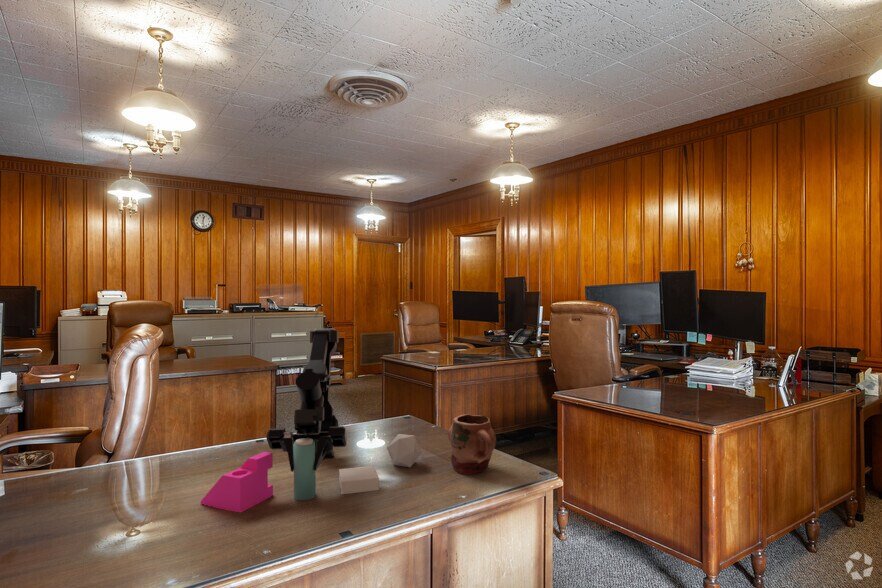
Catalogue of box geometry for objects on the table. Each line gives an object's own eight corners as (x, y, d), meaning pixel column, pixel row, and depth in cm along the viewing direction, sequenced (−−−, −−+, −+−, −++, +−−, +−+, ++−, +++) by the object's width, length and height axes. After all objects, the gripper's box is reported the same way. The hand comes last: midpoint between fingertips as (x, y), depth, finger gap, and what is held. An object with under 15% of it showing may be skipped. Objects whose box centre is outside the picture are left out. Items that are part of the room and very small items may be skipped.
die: (426, 464, 143) (414, 431, 148) (422, 457, 135) (410, 423, 140) (398, 476, 142) (387, 443, 147) (393, 470, 135) (381, 435, 139)
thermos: (294, 493, 122) (293, 438, 122) (315, 490, 123) (314, 436, 123) (293, 501, 117) (293, 444, 117) (315, 498, 118) (315, 442, 118)
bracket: (273, 495, 121) (272, 452, 121) (240, 513, 111) (239, 466, 111) (235, 488, 125) (234, 447, 125) (200, 504, 116) (200, 460, 116)
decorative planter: (514, 477, 130) (513, 423, 130) (474, 486, 124) (473, 430, 124) (472, 456, 148) (472, 408, 148) (436, 463, 142) (435, 414, 142)
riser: (339, 480, 129) (339, 469, 129) (374, 477, 132) (374, 465, 132) (341, 494, 121) (341, 481, 121) (379, 490, 123) (378, 477, 123)
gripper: (267, 396, 123) (255, 455, 112) (345, 393, 125) (340, 452, 114) (275, 420, 131) (265, 478, 120) (348, 417, 132) (344, 474, 121)
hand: (303, 470), depth 118 cm, fingers closed on thermos, 5 cm apart
